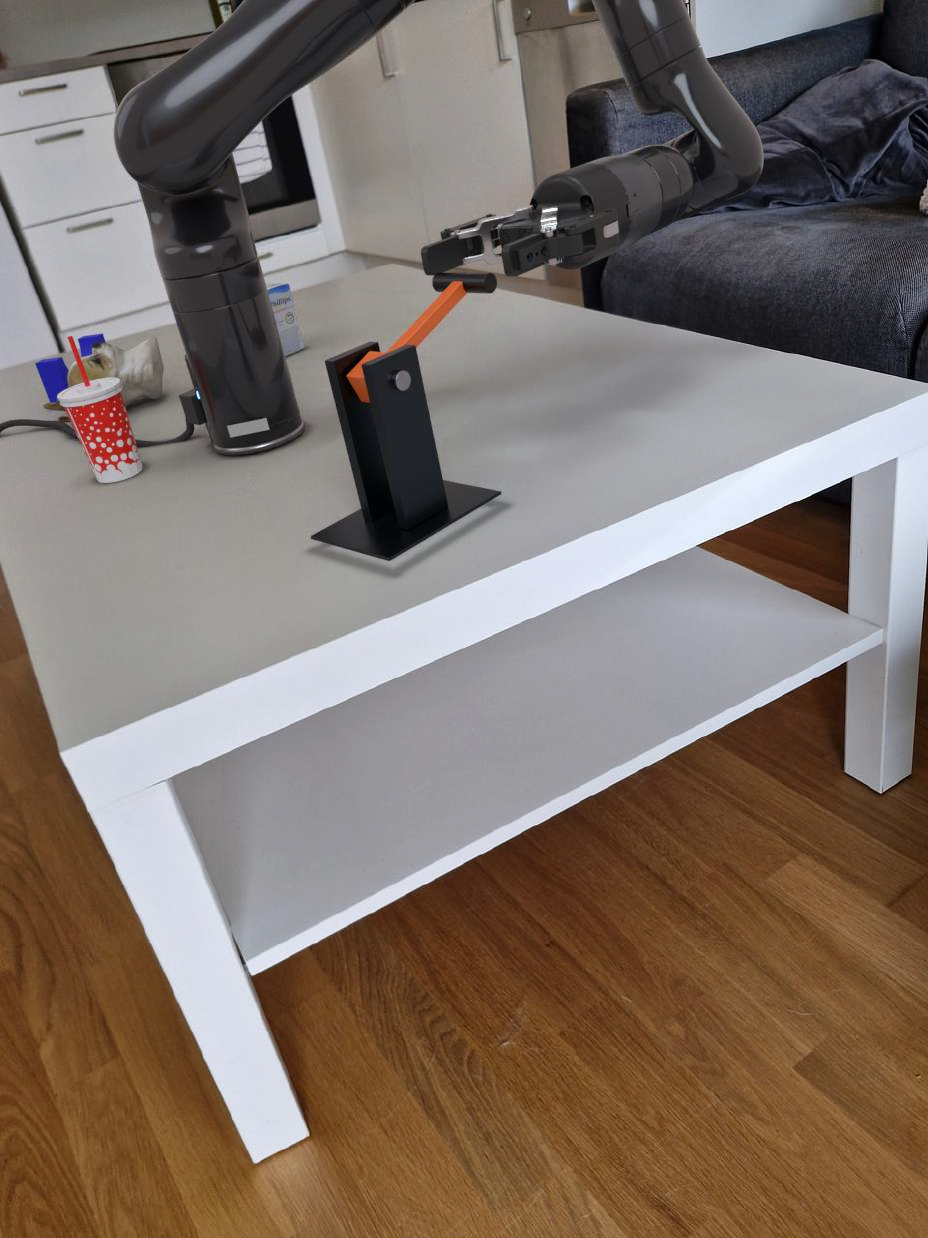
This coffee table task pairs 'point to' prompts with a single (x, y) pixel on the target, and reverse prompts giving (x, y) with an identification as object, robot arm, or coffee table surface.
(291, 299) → the medicine box
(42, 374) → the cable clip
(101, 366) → the ceramic sculpture
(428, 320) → the clamp lever
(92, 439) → the beverage cup
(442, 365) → the coffee table surface
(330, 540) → the black lever stand
